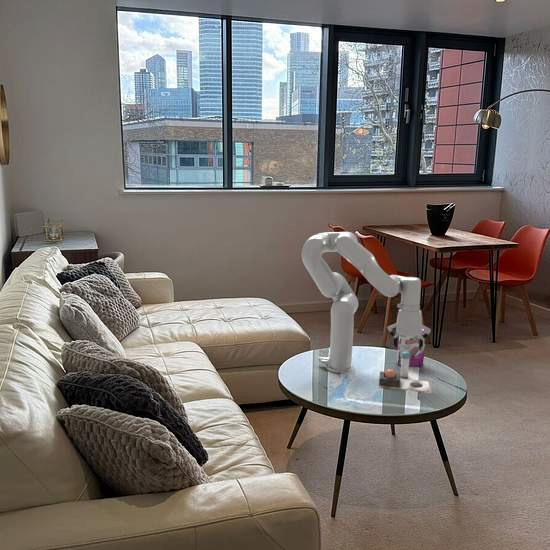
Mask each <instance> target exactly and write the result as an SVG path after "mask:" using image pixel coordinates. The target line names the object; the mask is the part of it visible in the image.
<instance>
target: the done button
mask: <svg viewBox="0 0 550 550" xmlns="http://www.w3.org/2000/svg"><path fill="white" fill-rule="evenodd" d="M384 372H385V377H386V378H395V373H396V370H395V369H391V368H387V369H385V370H384Z"/></svg>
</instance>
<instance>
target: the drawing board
mask: <svg viewBox="0 0 550 550" xmlns="http://www.w3.org/2000/svg"><path fill="white" fill-rule="evenodd" d="M378 380H379V382H378V388H379V389H390V390H397V391H398V390H399V391H408V392H417V393H418V392H419V393H426V394H432V390H431V383H430V381H428V380H420V379H412V378H411V379H410V378H401V376H400V372H395V378H386V377H385V371H379V379H378Z"/></svg>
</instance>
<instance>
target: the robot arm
mask: <svg viewBox="0 0 550 550" xmlns="http://www.w3.org/2000/svg"><path fill="white" fill-rule="evenodd" d="M358 241H359V240H358V237H357V236H356V234H354V233H353V232H351V231H350V232H349V231H339V232H336V231H334V232H333V231H332V232H319V233H316V234H314V235H312V236H310V237H309V238H308V239H306V241H305V243H304V244H303V247H302V249H301V261H302V262H303V265H304V266H305V268H306V270H307V271H308V273H309V276H310V277H311V278H312V280H313V282H314V283H315V284H316V286H317V288H318V290H319V291H320V293H321V295H323V296H324V297H326V298H332V300H333V303H332V304H331V308H330V341H329V342H330V345H329V356H326V357H324V356H319V357H318V362H320V364H325V369H326V370H327V371H328V372H332V373H336V374H342V372H343V373H344V372H351V371H353V370H355V369H356V367H355V365H354V364H353V363H352V359H353V343H354V316H355V313H356V312H357V310H358V309H359V308H358V307H359V301H358V300H359V299H358V297H357V295H356V294H355V293H354V291H353V289H352V288H351V286H350V285H349V283H348V281H347V280H346V278H345V277H344V276H343V275H342V274H340V272H339V273H338V272H335V271H332V269H331V268H330V267H329V264H328V263H327V262H326V260H325V259H324V258H323V254H325V253H328V252H329V253H331V252H332V253H334V252H335V253H336V252H337V253H338V254H340V255H341V256H342V257H343V258H344V259H345V260H347V262H348V263H350V264H351V265H352V266H354V267H355V268H356V269H357V270H358V271H359V273H361V275H362V276H363V277H364V278H365V279H366V280H367V282H368V283H369V284H370V285H371V286H372V287H373V288H375V289H376V290H377V291H378V292H379V293H380V294H382V295H383V296H385V297H389V298H394V297H395V296H397V295H398V294H399V293H400V294H401V296H400V298H401V299H400V303H397V306H396V308H399V309H398V312H397V317H396V323H393V324H391V325H388V326H387V330H388V333H389V335H390V336H391V337H392V338H393V346H394V347H395V349H398V338H399V335H405V336H419V337H420V339H419V349H420V350H421V347H423V340H424V339H425V338H426V339H427V337H429V335H430V333H431V332H432V331H431V330H432V329H431V328H430V327H427V326H425V325H424V324H423V316H422V315H423V314H422V310H420V307H421V305H420V304H421V289H422V287H421V285H422V281H421V280H422V279H420V278H419V277H415V276H401V275H397V274H391V275H389V274H388V273H386V272H385V271H384V270H383V269H382V268H381V267H380V265H379V263H378V262H377V259H376V257H375V256H374V254H373V253H372V252H371V251H369V250H368V249H367V248H365V247H364V246H363V245H362V244H361V243H360V242H358ZM394 328H396V330H395V332H394V331H393V329H394ZM422 329H424V330H425V331H426V333H425V334H424V335H422Z"/></svg>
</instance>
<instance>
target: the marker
mask: <svg viewBox="0 0 550 550" xmlns="http://www.w3.org/2000/svg"><path fill="white" fill-rule="evenodd" d="M401 357H402V358H401V365H400V372H399V373H400V377H403V378H408V377H409V371H410V370H409V369H410V368H409V367H410V366H409V358H410V352H406V351H403V352H402V355H401Z"/></svg>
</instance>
